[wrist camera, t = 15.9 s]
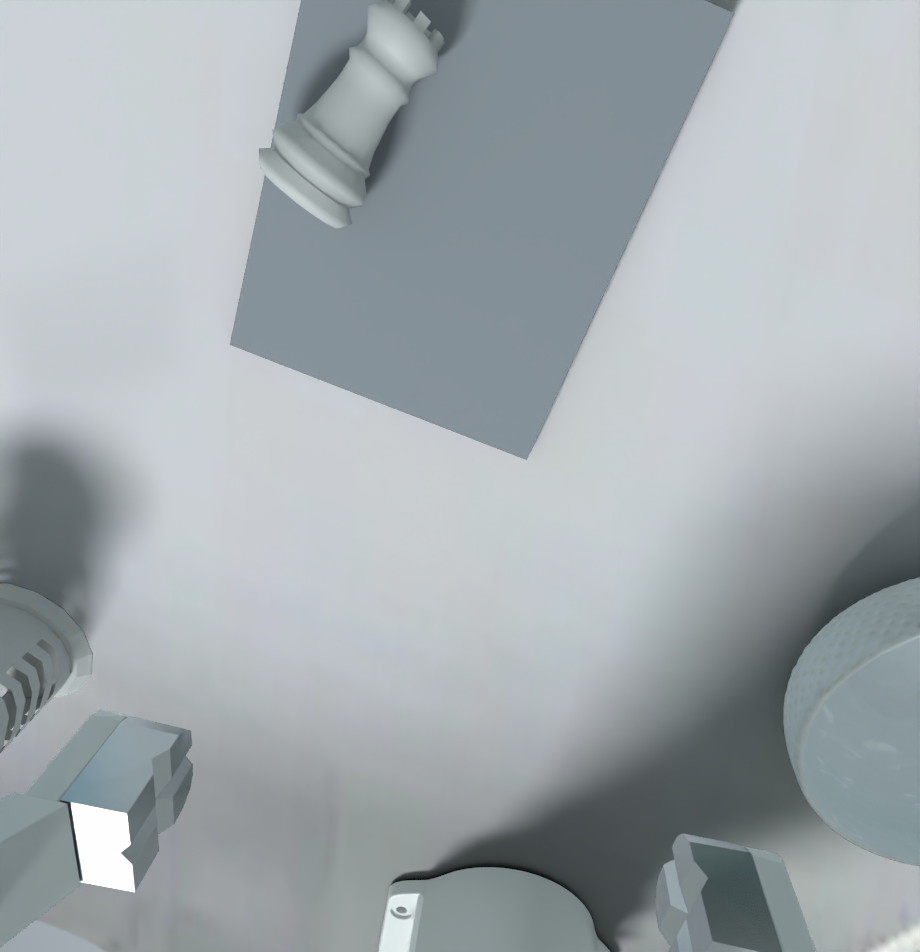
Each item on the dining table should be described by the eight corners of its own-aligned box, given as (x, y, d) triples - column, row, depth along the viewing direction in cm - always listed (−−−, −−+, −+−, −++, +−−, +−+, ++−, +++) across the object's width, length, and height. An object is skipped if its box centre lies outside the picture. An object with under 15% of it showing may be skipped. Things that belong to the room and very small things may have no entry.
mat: (526, 453, 33) (526, 460, 32) (236, 341, 32) (229, 344, 32) (728, 18, 25) (734, 13, 24) (341, -154, 24) (335, -164, 23)
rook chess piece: (308, 191, 29) (415, 29, 26) (363, 247, 27) (482, 80, 25) (231, 142, 25) (348, -54, 22) (290, 204, 23) (423, 0, 21)
